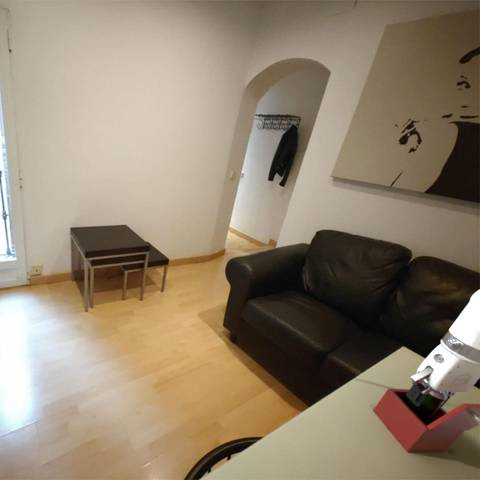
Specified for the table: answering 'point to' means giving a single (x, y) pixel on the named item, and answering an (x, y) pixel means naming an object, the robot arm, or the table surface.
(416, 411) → the beer can
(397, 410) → the red open box
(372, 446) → the table surface
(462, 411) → the lid
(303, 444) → the table surface
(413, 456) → the table surface
